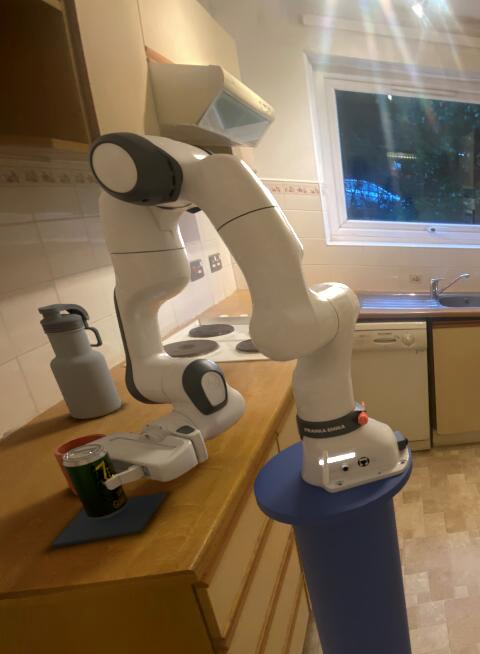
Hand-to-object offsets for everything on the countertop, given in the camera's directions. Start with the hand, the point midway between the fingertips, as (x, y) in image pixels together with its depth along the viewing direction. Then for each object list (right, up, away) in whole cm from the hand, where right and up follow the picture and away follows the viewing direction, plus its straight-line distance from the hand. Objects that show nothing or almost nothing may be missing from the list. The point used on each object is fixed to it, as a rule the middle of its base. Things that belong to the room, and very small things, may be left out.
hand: (90, 482), depth 72 cm
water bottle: (-37, +8, +41) cm, 56 cm away
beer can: (0, -6, +3) cm, 7 cm away
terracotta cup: (-11, -4, +13) cm, 18 cm away
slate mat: (0, -7, +4) cm, 8 cm away
